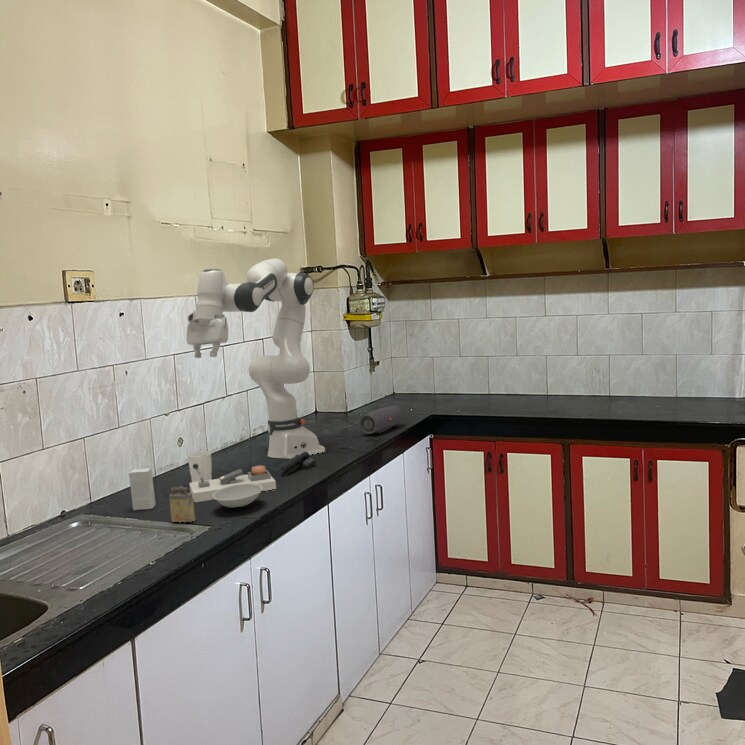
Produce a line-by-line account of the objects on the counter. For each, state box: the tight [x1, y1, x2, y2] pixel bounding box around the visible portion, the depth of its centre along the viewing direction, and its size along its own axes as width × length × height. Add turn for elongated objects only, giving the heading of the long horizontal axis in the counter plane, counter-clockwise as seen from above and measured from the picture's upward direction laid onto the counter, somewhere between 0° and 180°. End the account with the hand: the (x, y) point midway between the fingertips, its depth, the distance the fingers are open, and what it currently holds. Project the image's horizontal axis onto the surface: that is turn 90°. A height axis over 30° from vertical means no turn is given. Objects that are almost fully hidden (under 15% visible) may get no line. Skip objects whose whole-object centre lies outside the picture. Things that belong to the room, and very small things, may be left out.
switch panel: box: [189, 469, 277, 503], centre depth 243 cm, size 26×14×5 cm, turn 109°
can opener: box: [280, 452, 317, 477], centre depth 264 cm, size 18×7×6 cm, turn 150°
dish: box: [212, 483, 263, 509], centre depth 223 cm, size 18×14×5 cm
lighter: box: [168, 485, 196, 524], centre depth 213 cm, size 7×4×10 cm, turn 77°
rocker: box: [218, 468, 244, 483], centre depth 242 cm, size 8×4×1 cm, turn 109°
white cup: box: [187, 450, 213, 483], centre depth 257 cm, size 8×8×10 cm
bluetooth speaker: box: [358, 405, 403, 435], centre depth 322 cm, size 23×9×10 cm, turn 148°
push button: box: [251, 465, 266, 476], centre depth 245 cm, size 4×4×2 cm
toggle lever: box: [193, 464, 204, 482], centre depth 239 cm, size 2×2×7 cm
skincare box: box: [128, 467, 156, 511], centre depth 230 cm, size 6×4×12 cm
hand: (205, 357), depth 246 cm, fingers open, 8 cm apart
